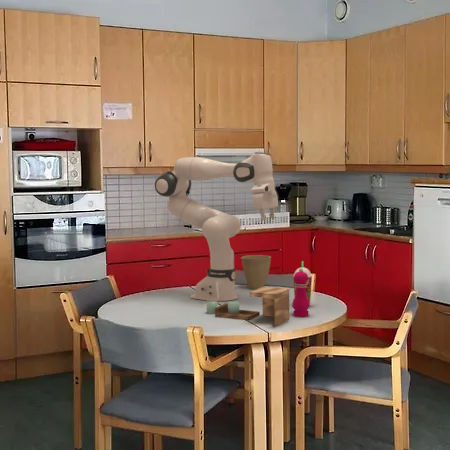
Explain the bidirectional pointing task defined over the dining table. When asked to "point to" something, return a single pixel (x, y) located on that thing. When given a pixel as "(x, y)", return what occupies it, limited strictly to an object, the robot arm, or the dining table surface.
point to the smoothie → (308, 288)
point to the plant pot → (256, 270)
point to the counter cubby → (274, 302)
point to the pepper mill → (300, 295)
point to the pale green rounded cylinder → (211, 307)
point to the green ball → (233, 307)
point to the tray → (243, 315)
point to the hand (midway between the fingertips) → (267, 218)
